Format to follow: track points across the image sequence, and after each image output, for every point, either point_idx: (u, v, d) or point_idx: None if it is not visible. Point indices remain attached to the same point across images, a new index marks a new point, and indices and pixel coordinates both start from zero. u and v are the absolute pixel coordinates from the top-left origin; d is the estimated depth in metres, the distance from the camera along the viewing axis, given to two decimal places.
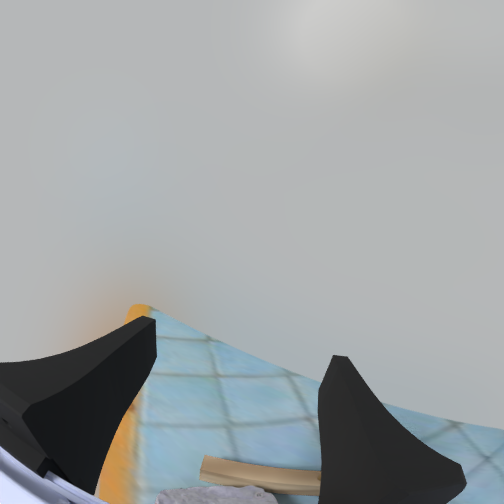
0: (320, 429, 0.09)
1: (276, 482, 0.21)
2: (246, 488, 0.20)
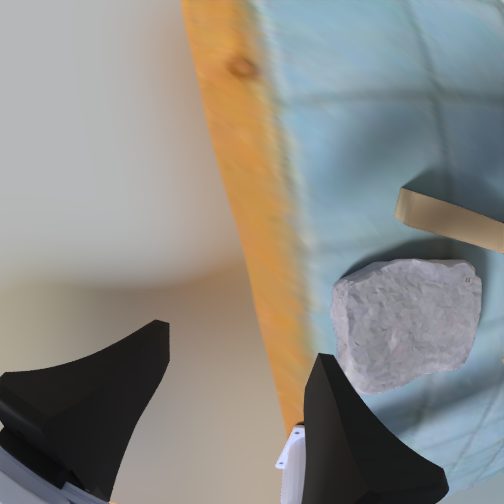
0: (305, 427, 0.09)
1: (491, 248, 0.15)
2: (458, 268, 0.15)
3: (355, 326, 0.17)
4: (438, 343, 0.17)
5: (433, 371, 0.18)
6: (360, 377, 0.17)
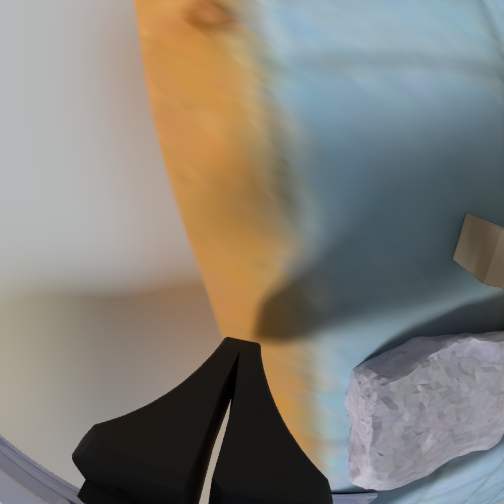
0: (229, 416, 0.10)
1: None
2: None
3: (381, 436, 0.10)
4: (480, 430, 0.09)
5: (465, 453, 0.11)
6: (379, 482, 0.10)
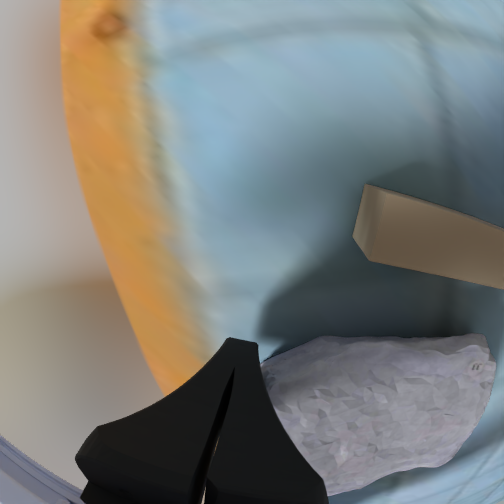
0: None
1: None
2: (463, 354, 0.09)
3: None
4: (416, 448, 0.10)
5: (408, 469, 0.11)
6: None
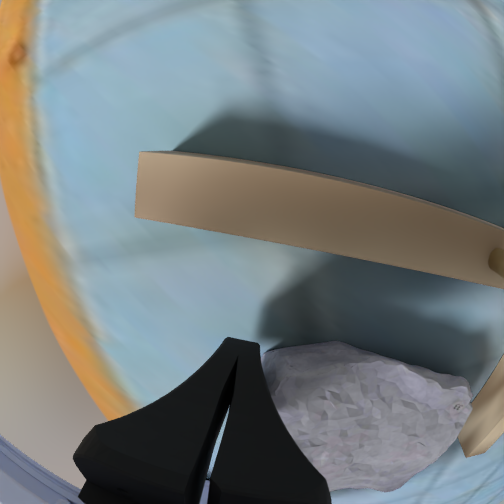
0: None
1: (380, 259, 0.08)
2: (454, 392, 0.09)
3: None
4: (381, 468, 0.10)
5: (360, 487, 0.12)
6: None
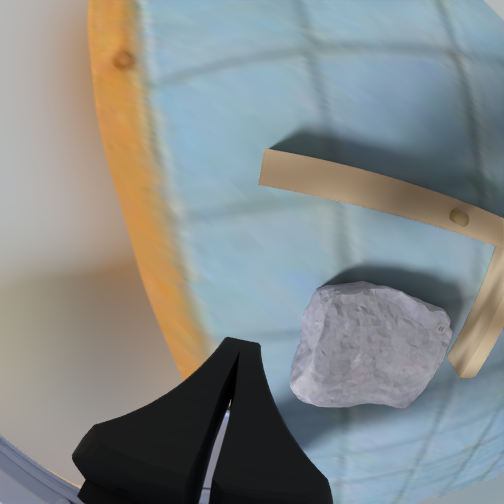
0: (229, 415, 0.10)
1: (388, 211, 0.15)
2: (436, 314, 0.17)
3: (327, 335, 0.17)
4: (394, 377, 0.18)
5: (379, 403, 0.19)
6: (314, 386, 0.18)
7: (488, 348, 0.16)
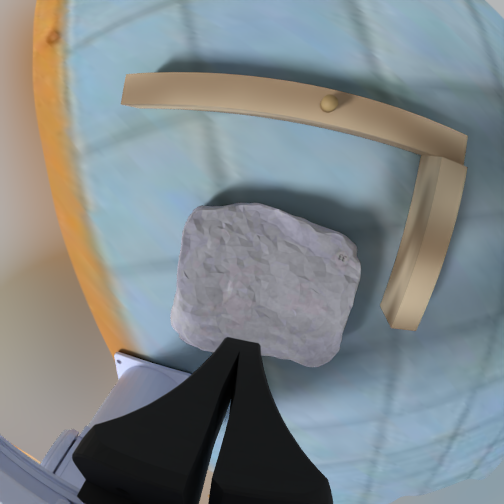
0: (229, 416, 0.10)
1: (239, 107, 0.14)
2: (330, 238, 0.16)
3: (189, 254, 0.17)
4: (288, 320, 0.17)
5: (281, 356, 0.19)
6: (185, 318, 0.17)
7: (427, 288, 0.16)
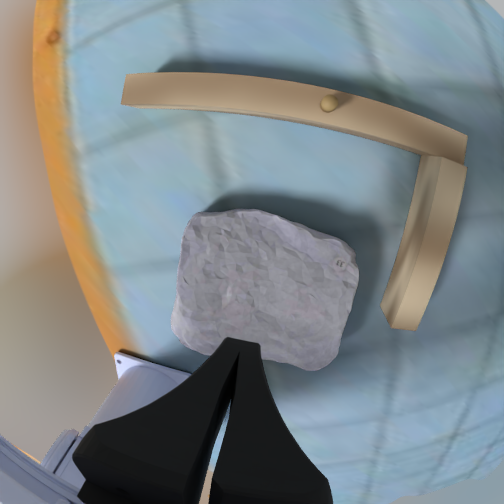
0: (229, 416, 0.10)
1: (239, 107, 0.14)
2: (328, 243, 0.16)
3: (188, 261, 0.17)
4: (286, 325, 0.17)
5: (280, 360, 0.19)
6: (185, 323, 0.17)
7: (427, 288, 0.16)
